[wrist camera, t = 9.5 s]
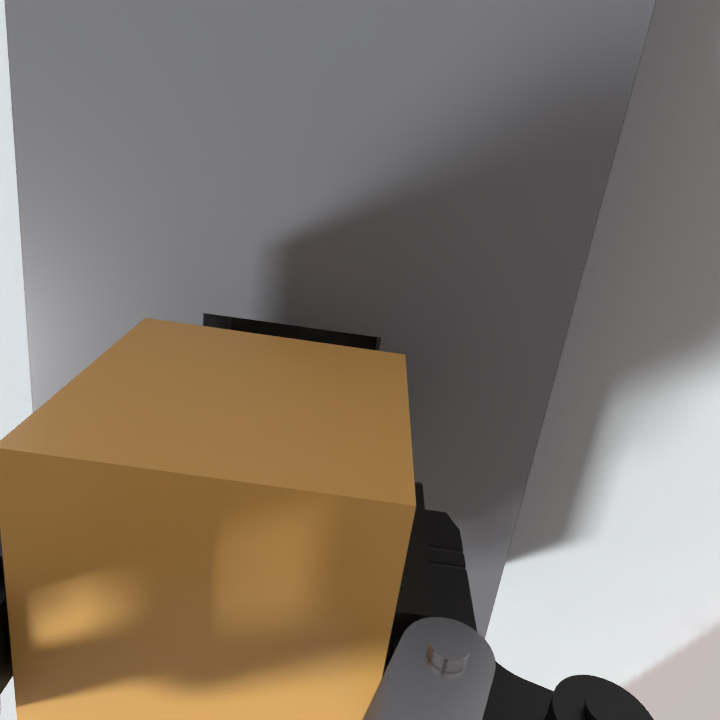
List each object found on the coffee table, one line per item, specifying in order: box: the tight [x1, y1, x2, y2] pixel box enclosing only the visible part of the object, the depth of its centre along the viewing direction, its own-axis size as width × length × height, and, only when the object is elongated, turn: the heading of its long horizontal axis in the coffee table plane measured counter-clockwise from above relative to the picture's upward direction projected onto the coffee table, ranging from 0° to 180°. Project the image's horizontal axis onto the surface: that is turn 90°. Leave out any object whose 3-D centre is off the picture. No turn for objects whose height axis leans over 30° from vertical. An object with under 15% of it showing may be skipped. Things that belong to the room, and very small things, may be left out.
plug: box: [0, 318, 416, 720], centre depth 13 cm, size 9×5×8 cm, turn 172°
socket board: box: [5, 0, 656, 639], centre depth 14 cm, size 22×12×4 cm, turn 173°
